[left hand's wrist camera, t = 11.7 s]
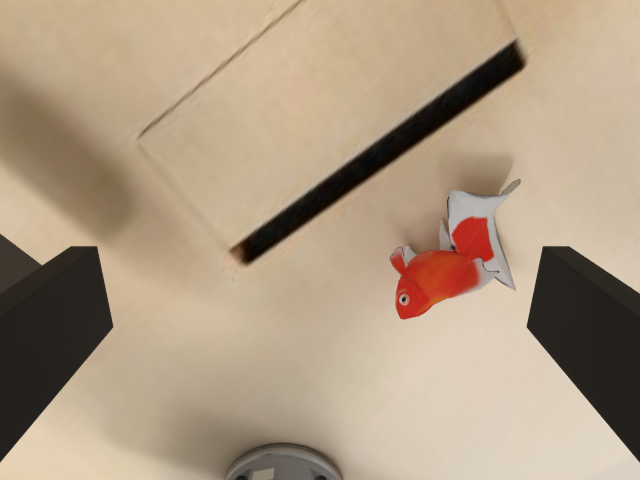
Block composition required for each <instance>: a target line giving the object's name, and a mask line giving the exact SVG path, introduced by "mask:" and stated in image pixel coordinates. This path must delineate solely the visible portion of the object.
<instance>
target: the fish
mask: <svg viewBox="0 0 640 480" xmlns="http://www.w3.org/2000/svg"><path fill="white" fill-rule="evenodd" d="M520 181H521V180H520V179H518V180H516V181H514V182H512V183H511V184H510V185H509V186H508V187H507V188H506V189H504V190H503V191H502V193H501V195H497V196H488V195H477V194H473V193H468V192H462V191H455V190H451V192H450V194H449V197H448V200H447V208H448V222H449V233H450V237H449V235H448V233H447V230H446V228H445V225H444V222H443V219H441V220H440V231H439V239H440V247H439V250H431V251H427V252H424V253H421V254H419V255H418V254H417V253H416V252H415V251H414V250H413V249H412V248H411V247H410V246H409V245H407V246H406V247H405V254H404V255H403V249H402V247H399V248H397V249H396V250H395V252H394V253H393V254H392V255H391V256H390V261H391V263H392V265H393V267H394V268H395V269H396V270H397V271H398V272H399V274H400V275H401V278H400V280H399V282H398V287H397V291H396V299H395V301H396V310H397V312H398V315H399V317H400V318H401V319H403V320H404V319H408V318H412V317H417V316H420V315H422V314H424V313H425V312H427V311H428V310H429V309H430V308H431V307H432V306H433V305H434V304H436V303H438V302H440V301H442V300H445V299H447V298H452V297H456V296H460V295H464V294H467V293H470V292H473V291H476V290H479V289H481V288H482V287H483V286H485V285H486V284H488V283H489V282H490V281H491V280H492V279H493V278H494V277H495V278H496V279H497V280H498V281H500V282H501V283H503V284H504V285H506V286H508V287H510V288H512V289H513V290H515V291H516V288H515V285H514V282H513V279H512V275H511V272H510V269H509V266H508V263H507V260H506V257H505V255H504V252H503V249H502V246H501V243H500V240H499V236H498V233H497V229H496V226H495V219H494V211H495V210H496V209H497V208H498V207H499V206H500V204H501V203H502V202H503V201H504V200H505V199H506V198H507V197H508V196H509V195H510V194H511V192H512V191H513V190H514V189H515V188H516V187H517V186H518V185H519V184H520ZM450 239H451V240H450ZM451 245H452V250H454V251H450V250H451Z"/></svg>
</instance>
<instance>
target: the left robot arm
mask: <svg viewBox="0 0 640 480" xmlns="http://www.w3.org/2000/svg"><path fill="white" fill-rule="evenodd" d="M112 328H113V323H112V318H111V313H110V308H109V303H108V298H107V293H106V288H105V283H104V278H103V273H102V268H101V264H100V259H99V254H98V249H97V246H71V247H69V248H68V249H66V250H65V251H63V252H62V253H60V254H59V255H57V256H56V257H54V258H53V259H51V260H50V261H48V262H47V263H45V264H44V265H42V266H41V267H39V268H38V269H36V270H35V271H33V272H32V273H30V274H29V275H27V276H26V277H24V278H23V279H21V280H20V281H18V282H17V283H15V284H14V285H12V286H11V287H9V288H8V289H6V290H5V291H3V292H2V293H0V462H1V461H2V460H3V458H4V457H5V456H6V455H7V454H8V452H9V451H10V450H11V449H12V448H13V446H14V445H15V444H16V443H17V442H18V441H19V439H20V438H21V437H22V436H23V435H24V433H25V432H26V431H27V430H28V429H29V427H30V426H31V425H32V424H33V423H34V421H35V420H36V419H37V418H38V417H39V415H40V414H41V413H42V412H43V411H44V409H45V408H46V407H47V406H48V405H49V403H50V402H51V401H52V400H53V399H54V397H55V396H56V395H57V394H58V393H59V391H60V390H61V389H62V388H63V387H64V386H65V384H66V383H67V382H68V381H69V380H70V378H71V377H72V376H73V375H74V374H75V372H76V371H77V370H78V369H79V368H80V366H81V365H82V364H83V363H84V362H85V360H86V359H87V358H88V357H89V356H90V354H91V353H92V352H93V351H94V350H95V348H96V347H97V346H98V345H99V344H100V342H101V341H102V340H103V339H104V338H105V336H106V335H107V334H108V333H109V332H110V331H111V329H112ZM527 328H528V329H529V331H530V332H531V333H532V334H533V335H534V337H535V338H536V339H537V340H538V341H539V342H540V344H541V345H542V346H543V347H544V348H545V350H546V351H547V352H548V353H549V354H550V356H551V357H552V358H553V359H554V360H555V362H556V363H557V364H558V365H559V366H560V368H561V369H562V370H563V371H564V372H565V374H566V375H567V376H568V377H569V378H570V380H571V381H572V382H573V383H574V384H575V386H576V387H577V388H578V389H579V390H580V391H581V393H582V394H583V395H584V396H585V397H586V399H587V400H588V401H589V402H590V403H591V405H592V406H593V407H594V408H595V409H596V411H597V412H598V413H599V414H600V415H601V417H602V418H603V419H604V420H605V421H606V423H607V424H608V425H609V426H610V427H611V429H612V430H613V431H614V432H615V433H616V435H617V436H618V437H619V438H620V439H621V441H622V442H623V443H624V444H625V445H626V446H627V448H628V449H629V450H630V451H631V452H632V454H633V455H634V456H635V457H636V458H637V460H638V461H639V462H640V293H638V292H637V291H635V290H634V289H632V288H631V287H629V286H628V285H626V284H625V283H623V282H622V281H620V280H619V279H617V278H616V277H614V276H613V275H611V274H610V273H608V272H607V271H605V270H604V269H602V268H601V267H599V266H598V265H596V264H595V263H593V262H592V261H590V260H589V259H587V258H586V257H584V256H583V255H581V254H580V253H578V252H577V251H575V250H574V249H572V248H571V247H569V246H543V249H542V254H541V259H540V264H539V268H538V273H537V278H536V283H535V288H534V293H533V298H532V303H531V308H530V313H529V318H528V323H527ZM225 480H342V477H341V475H340V473H339V471H338V469H337V468H336V467H335V465H334V464H333V463H332V462H331V461H330V460H328V459H327V458H326V457H325V456H323V455H322V454H320V453H318V452H316V451H314V450H312V449H309V448H306V447H302V446H298V445H291V444H274V445H267V446H263V447H259V448H256V449H253V450H251V451H249V452H247V453H245V454H244V455H242V456H241V457H240V458H238V459H237V460H236V461H235V462H234V463H233V464H232V466H231V467H230V469H229V470H228V472H227V475H226V478H225Z"/></svg>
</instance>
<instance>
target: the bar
mask: <svg viewBox="0 0 640 480" xmlns="http://www.w3.org/2000/svg"><path fill="white" fill-rule="evenodd" d="M41 266H42V265H41V264H39V263H38V262H37V261H36V260H34V259H33V258H32V257H30V256H29V255H28V254H26V253H25V252H24V251H22V250H21V249H20V248H18V247H17V246H16V245H14V244H13V243H12V242H10V241H9V240H8V239H6V238H5V237H4V236H3V235H1V234H0V293H2V292H3V291H5V290H6V289H8V288H9V287H11V286H12V285H14V284H15V283H17V282H18V281H20V280H21V279H23V278H24V277H26V276H27V275H29V274H30V273H32V272H33V271H35V270H36V269H38V268H39V267H41Z"/></svg>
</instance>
